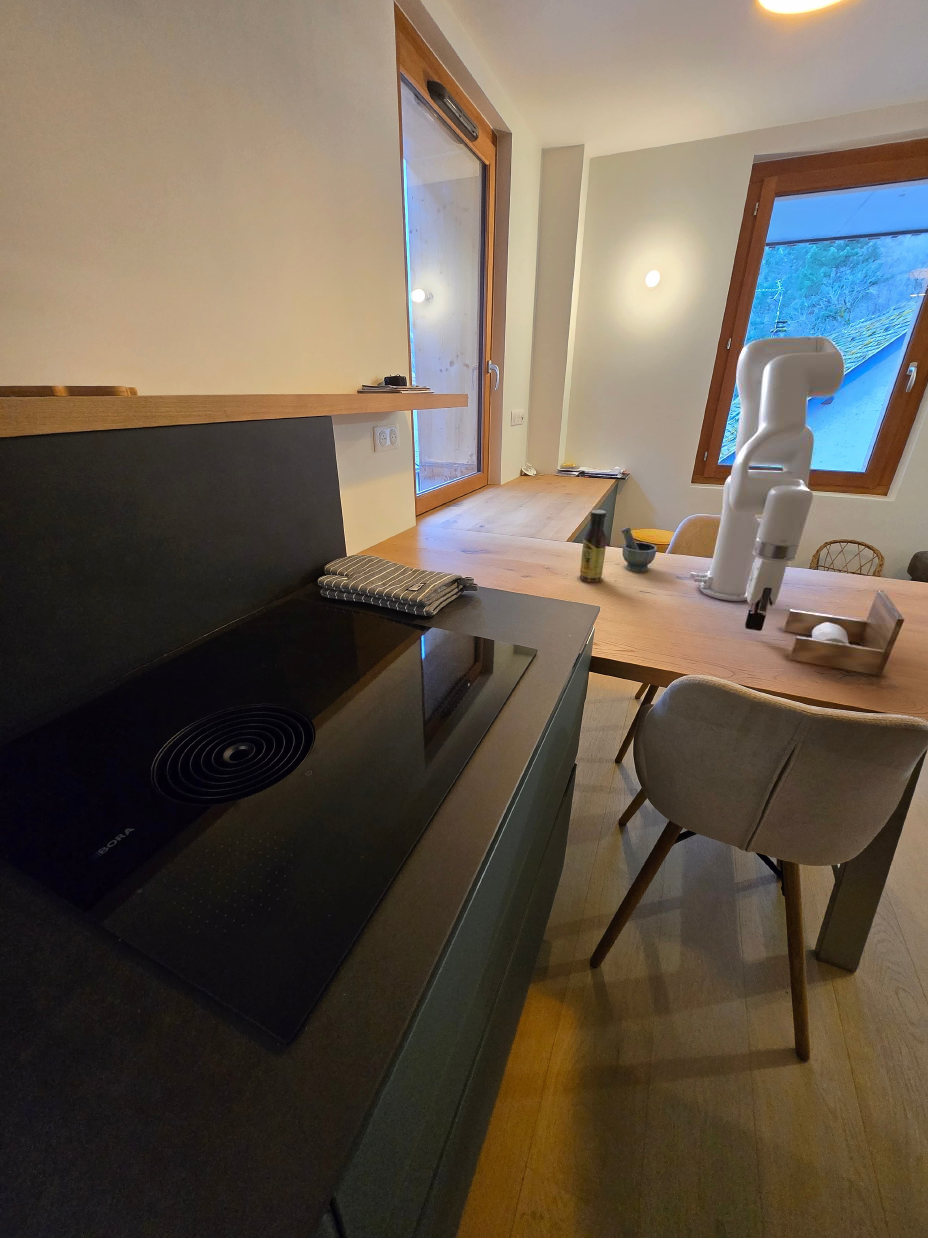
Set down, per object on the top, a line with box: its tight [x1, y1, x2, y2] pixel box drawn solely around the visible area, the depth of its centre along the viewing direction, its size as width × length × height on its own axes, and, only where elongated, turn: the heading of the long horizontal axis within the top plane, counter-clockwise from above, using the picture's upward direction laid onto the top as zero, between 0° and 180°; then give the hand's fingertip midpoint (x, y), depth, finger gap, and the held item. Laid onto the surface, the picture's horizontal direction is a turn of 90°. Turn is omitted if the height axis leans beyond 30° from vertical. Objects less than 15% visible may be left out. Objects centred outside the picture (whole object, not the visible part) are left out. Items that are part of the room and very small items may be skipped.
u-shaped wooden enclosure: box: [783, 589, 905, 677], centre depth 100 cm, size 15×15×12 cm
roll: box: [811, 622, 850, 645], centre depth 102 cm, size 6×12×6 cm, turn 151°
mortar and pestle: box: [620, 526, 658, 573], centre depth 147 cm, size 11×9×12 cm
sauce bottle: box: [579, 509, 608, 583], centre depth 137 cm, size 6×6×20 cm
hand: (753, 628), depth 108 cm, fingers closed
